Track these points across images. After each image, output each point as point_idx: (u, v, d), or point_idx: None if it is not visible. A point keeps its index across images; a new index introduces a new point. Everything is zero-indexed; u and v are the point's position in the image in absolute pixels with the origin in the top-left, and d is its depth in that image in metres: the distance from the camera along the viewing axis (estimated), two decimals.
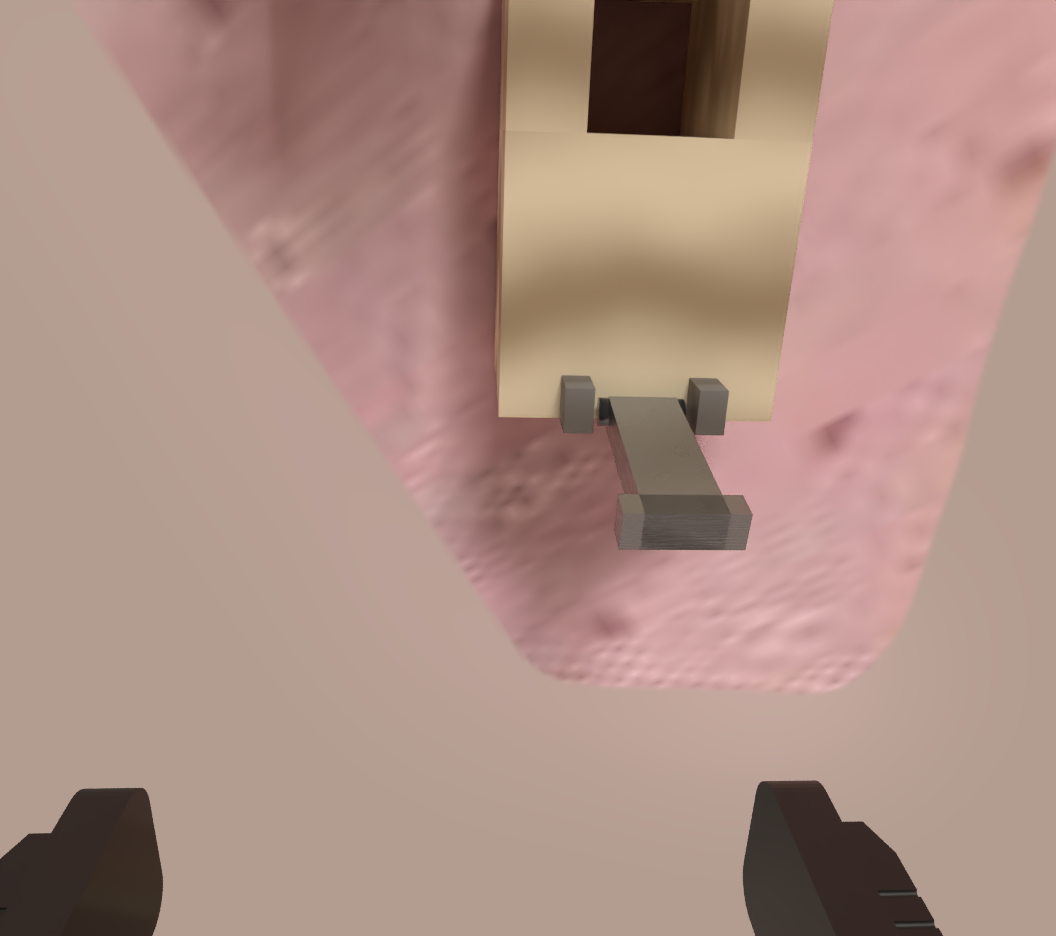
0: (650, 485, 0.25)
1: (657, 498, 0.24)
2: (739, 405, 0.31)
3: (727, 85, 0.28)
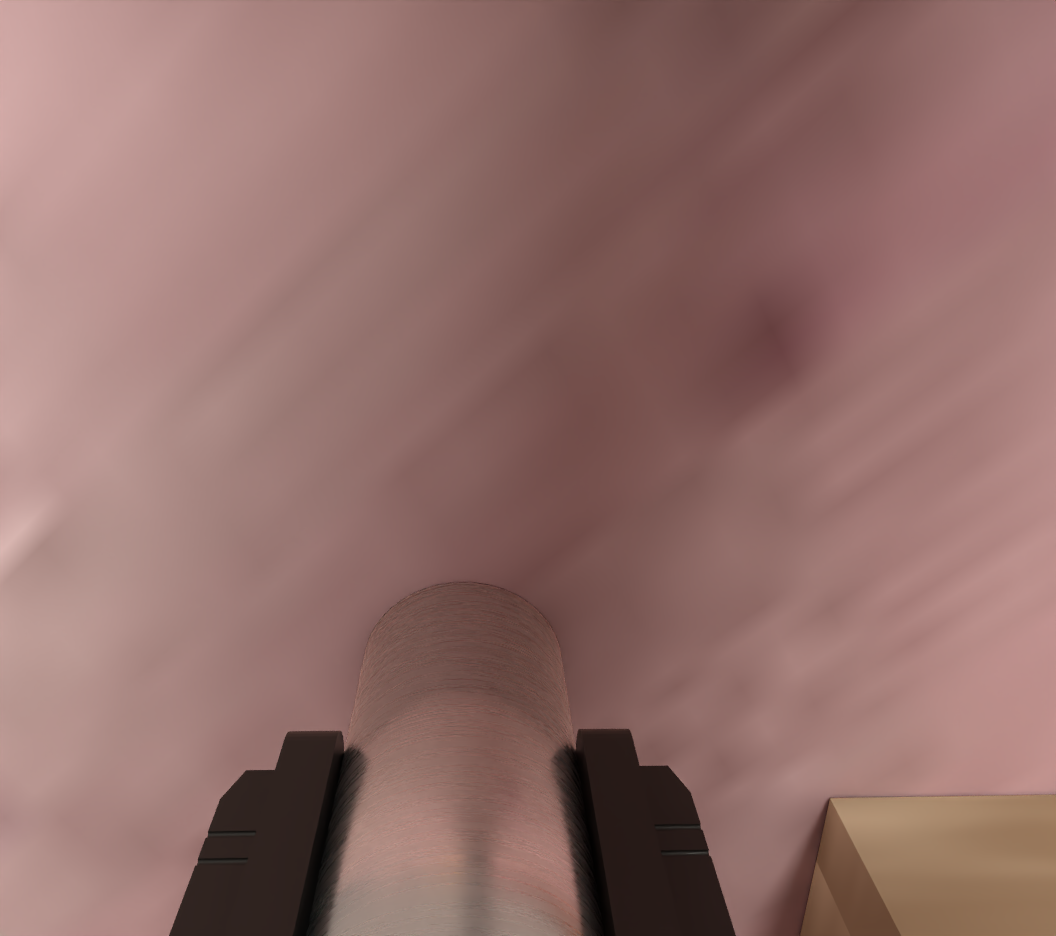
0: None
1: None
2: None
3: None
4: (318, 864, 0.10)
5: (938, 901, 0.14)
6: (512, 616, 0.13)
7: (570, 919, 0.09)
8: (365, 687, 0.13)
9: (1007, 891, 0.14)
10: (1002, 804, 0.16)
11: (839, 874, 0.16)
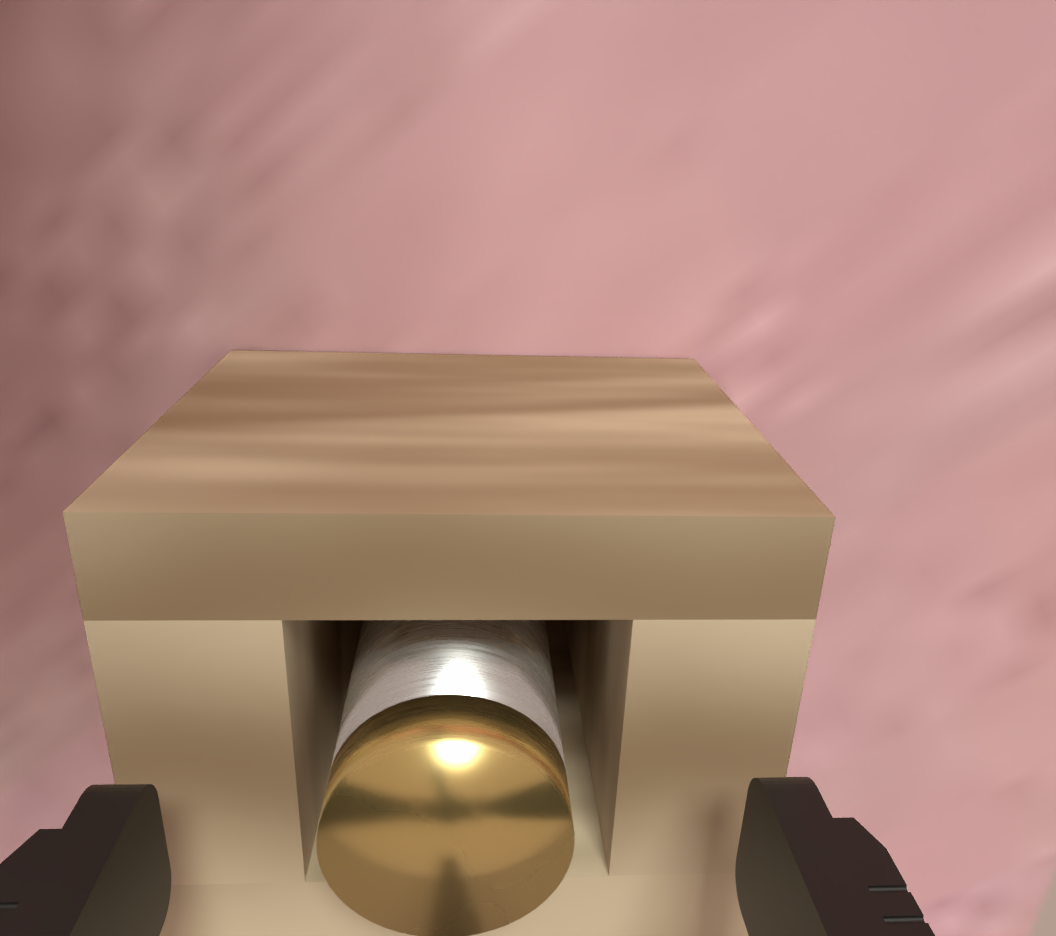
0: None
1: None
2: None
3: (602, 727, 0.14)
4: None
5: (248, 382, 0.16)
6: None
7: (523, 620, 0.14)
8: None
9: (319, 381, 0.16)
10: (385, 355, 0.18)
11: None
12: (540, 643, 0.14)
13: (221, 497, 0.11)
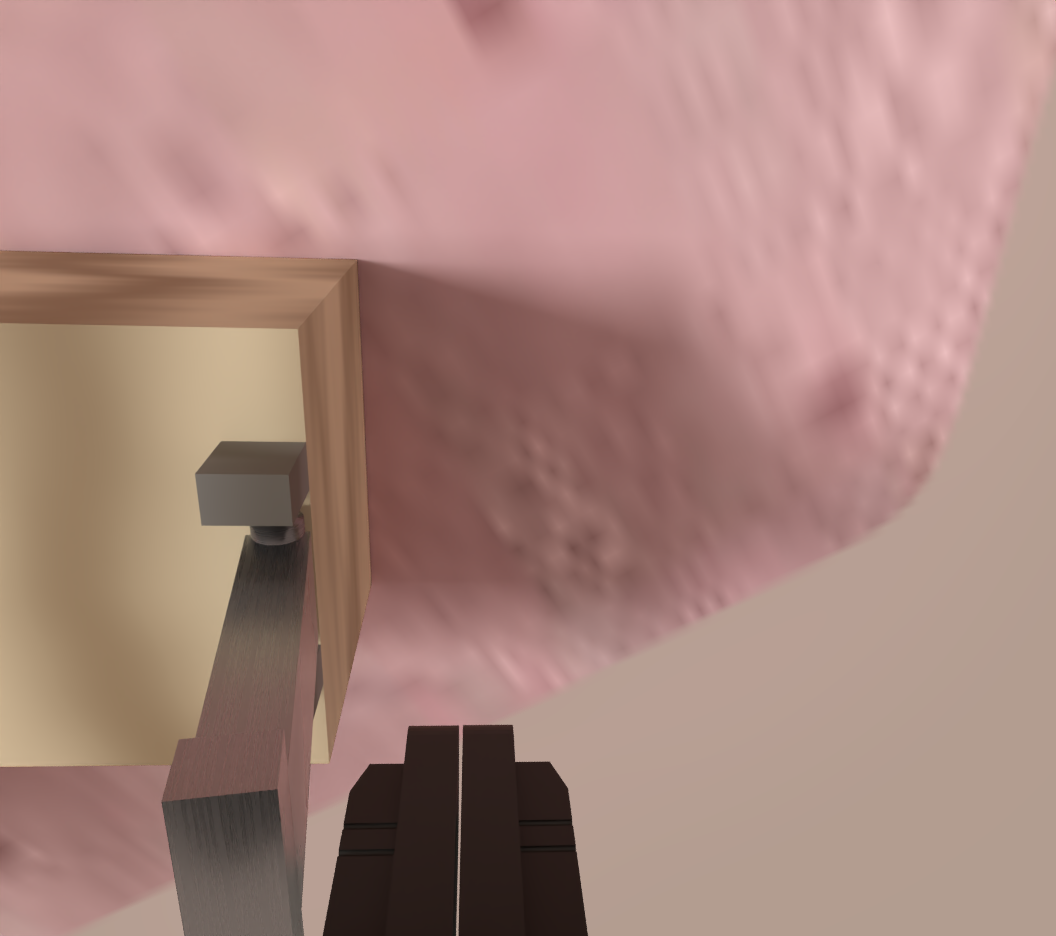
0: None
1: None
2: (270, 394, 0.16)
3: None
4: (455, 855, 0.10)
5: None
6: None
7: None
8: None
9: None
10: None
11: None
12: None
13: None
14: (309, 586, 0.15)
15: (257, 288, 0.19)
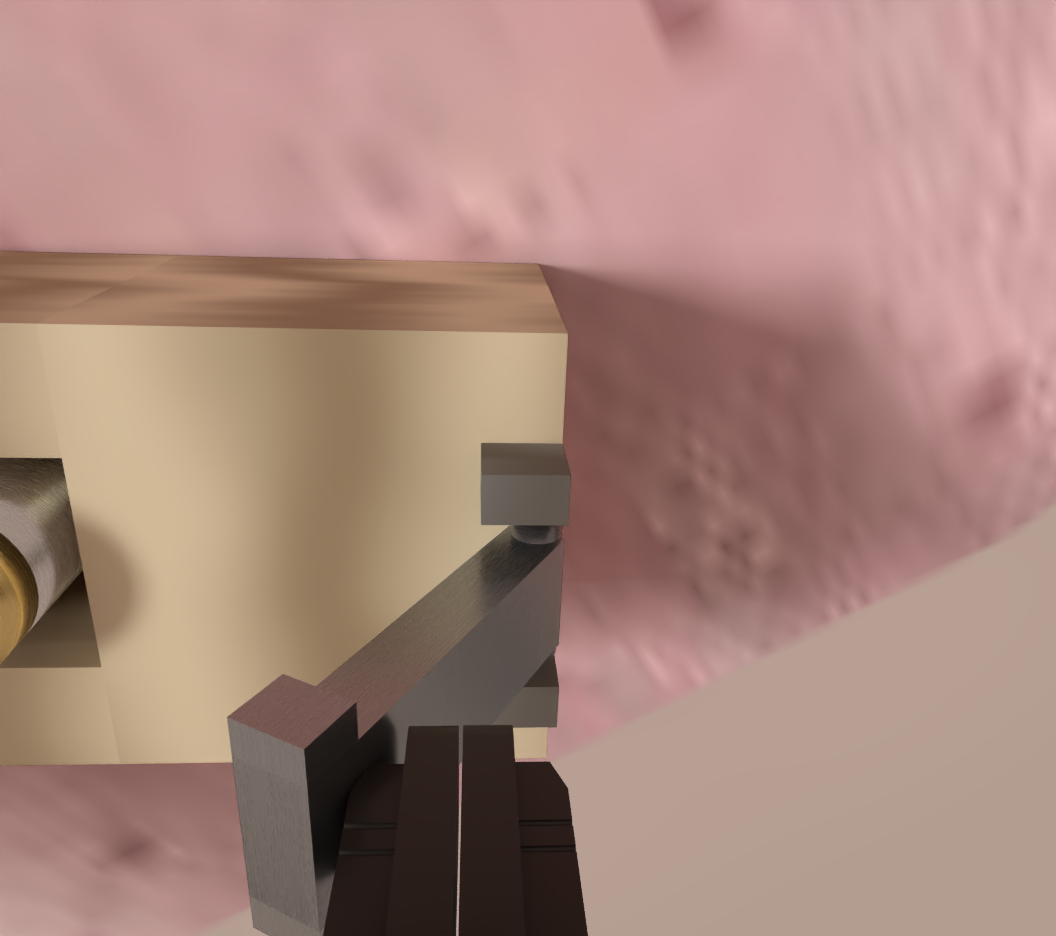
0: None
1: None
2: (534, 396, 0.16)
3: None
4: (455, 855, 0.10)
5: None
6: None
7: None
8: None
9: None
10: None
11: None
12: None
13: None
14: (536, 590, 0.16)
15: (480, 293, 0.19)
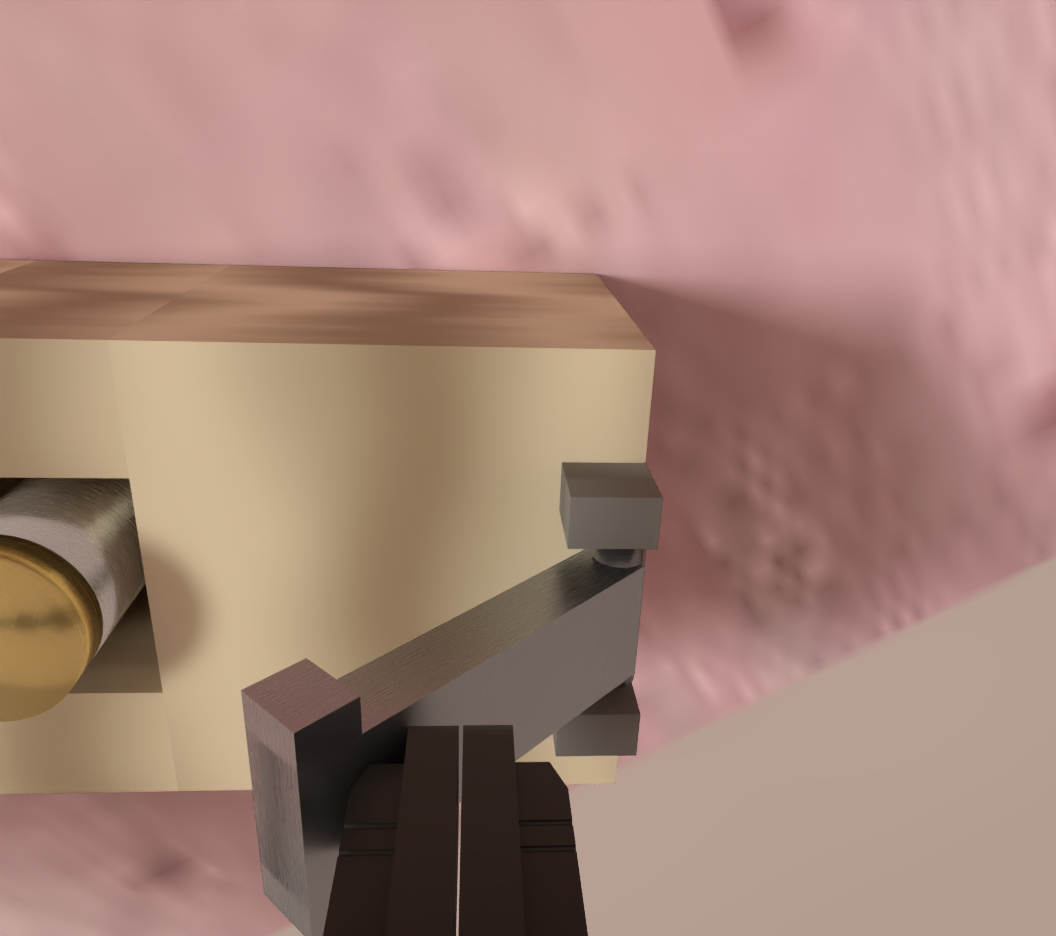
0: None
1: None
2: (618, 415, 0.16)
3: None
4: (455, 855, 0.10)
5: None
6: None
7: None
8: None
9: None
10: None
11: None
12: (7, 493, 0.18)
13: None
14: (604, 614, 0.15)
15: (549, 305, 0.19)
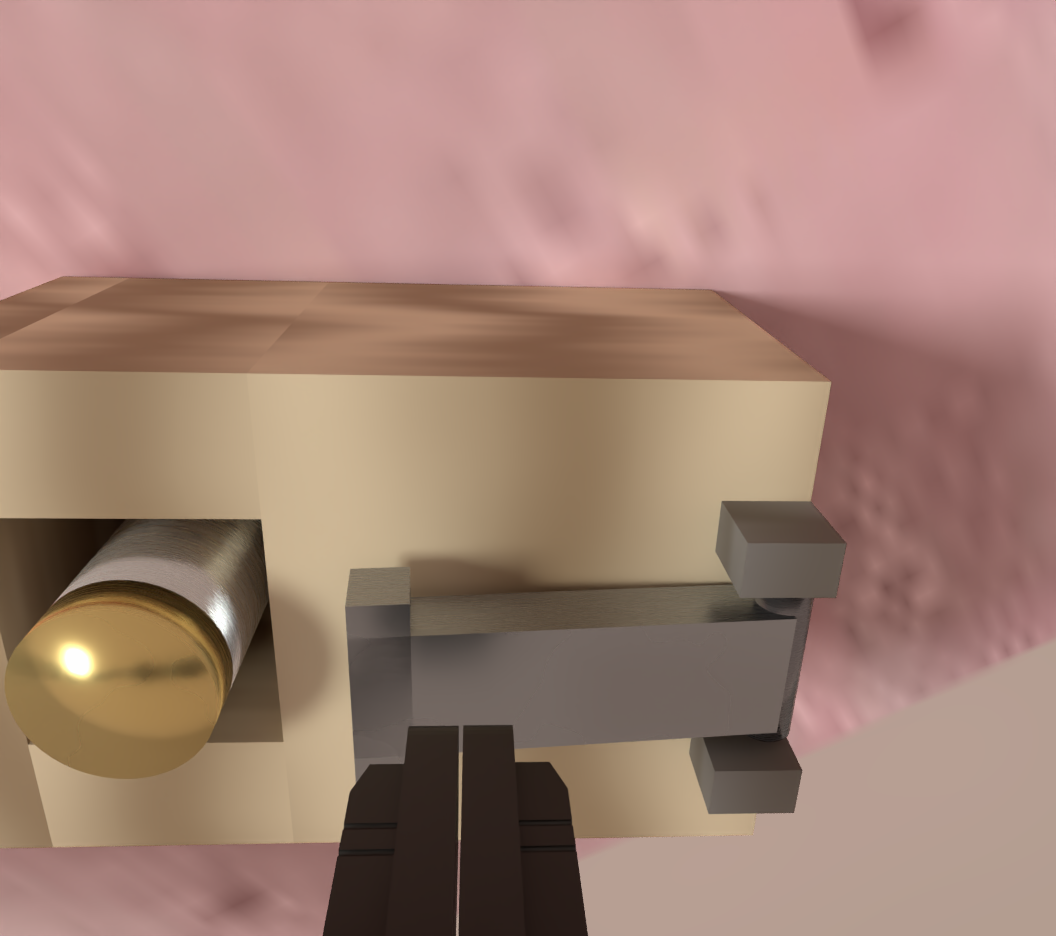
0: None
1: None
2: (785, 451, 0.15)
3: None
4: (455, 855, 0.10)
5: None
6: None
7: (108, 539, 0.17)
8: None
9: None
10: None
11: None
12: (120, 530, 0.17)
13: None
14: (726, 648, 0.14)
15: (686, 328, 0.18)
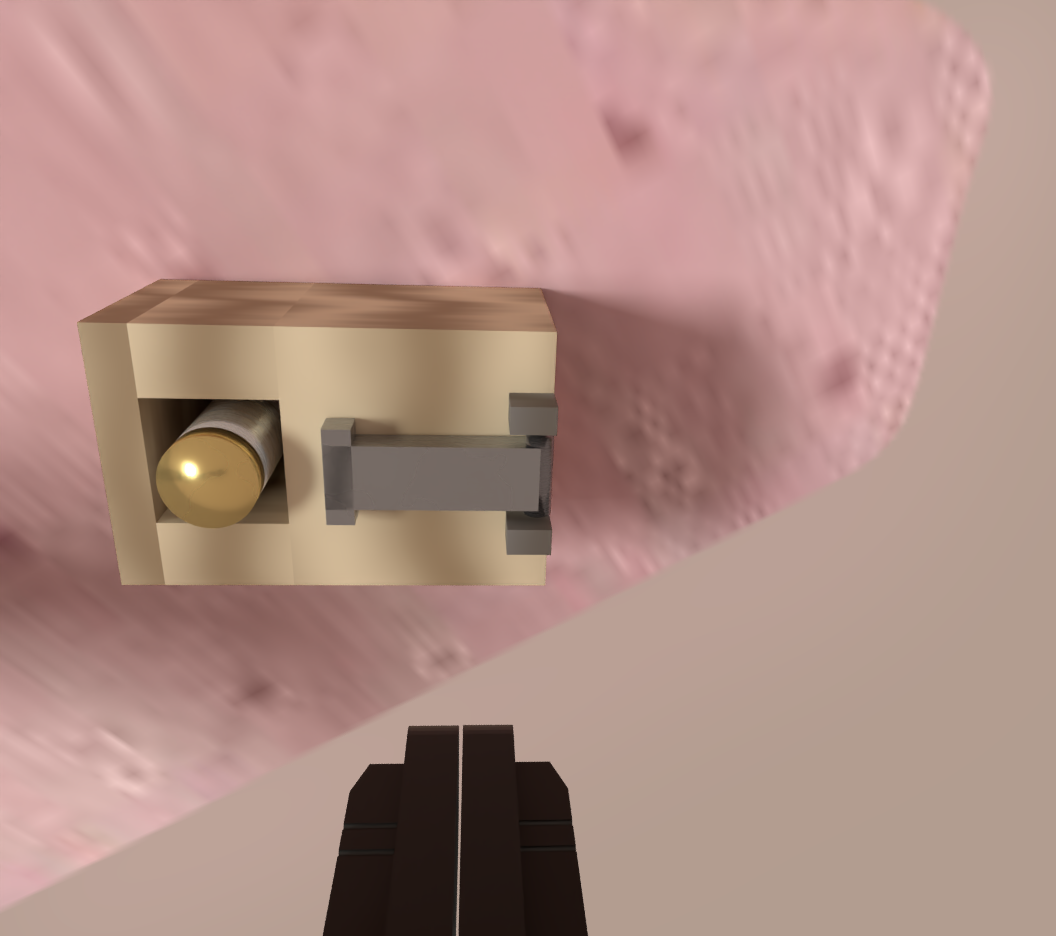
0: None
1: None
2: (538, 366, 0.30)
3: None
4: (455, 855, 0.10)
5: None
6: None
7: None
8: None
9: None
10: None
11: None
12: (203, 412, 0.32)
13: None
14: (506, 462, 0.30)
15: (506, 308, 0.33)
